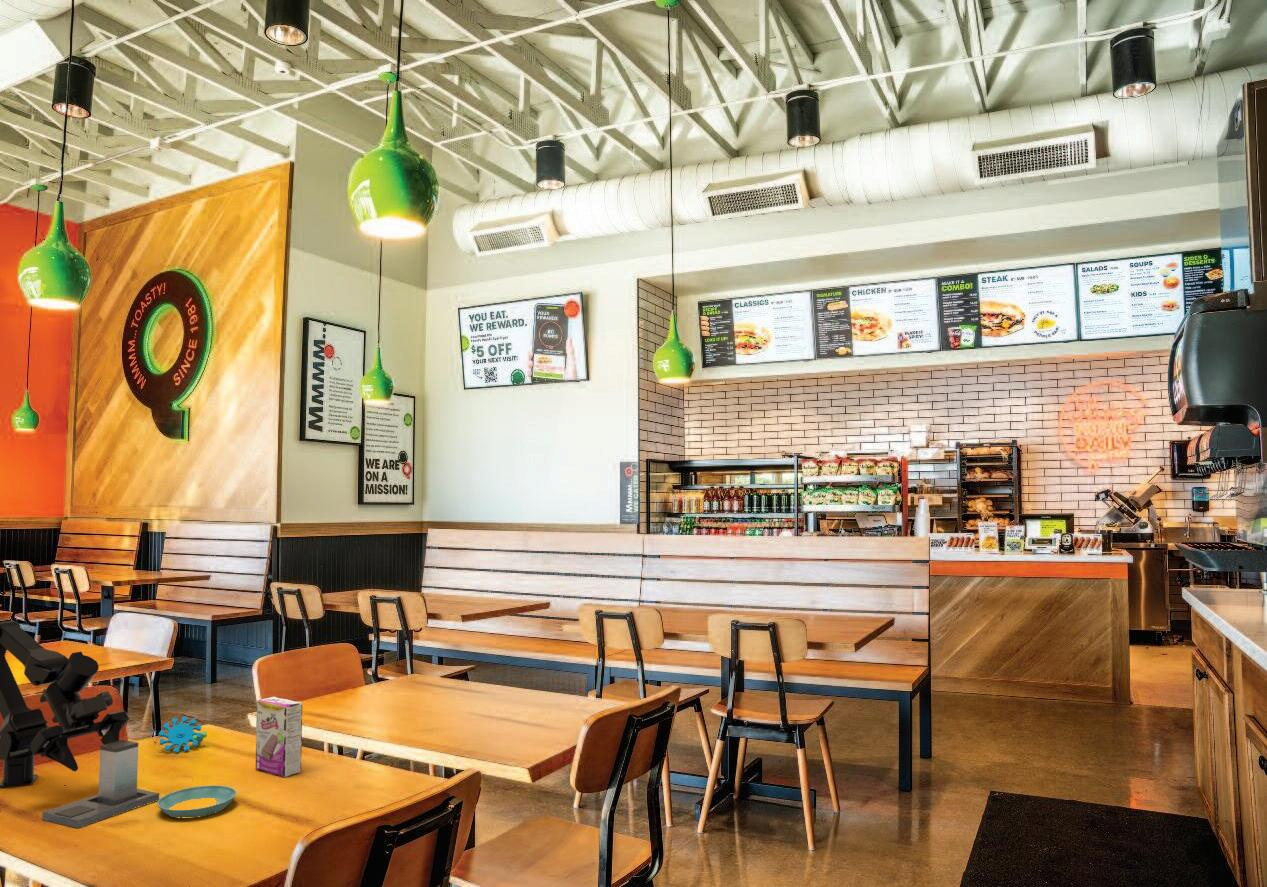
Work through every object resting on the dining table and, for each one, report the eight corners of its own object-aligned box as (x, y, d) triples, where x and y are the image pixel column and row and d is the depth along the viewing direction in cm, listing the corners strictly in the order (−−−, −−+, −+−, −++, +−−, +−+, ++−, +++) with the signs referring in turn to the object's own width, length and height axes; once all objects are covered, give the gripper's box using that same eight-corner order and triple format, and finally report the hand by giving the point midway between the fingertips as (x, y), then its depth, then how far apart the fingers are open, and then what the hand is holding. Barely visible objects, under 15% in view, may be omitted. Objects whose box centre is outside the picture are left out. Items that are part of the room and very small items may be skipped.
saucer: (139, 817, 179) (140, 804, 179) (198, 794, 193) (199, 782, 193) (195, 827, 174) (196, 813, 174) (252, 802, 188) (252, 789, 188)
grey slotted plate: (42, 819, 177) (42, 811, 177) (124, 793, 193) (124, 785, 193) (77, 828, 172) (78, 820, 172) (159, 800, 188) (159, 792, 188)
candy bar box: (253, 770, 209) (255, 699, 210) (272, 765, 213) (274, 695, 214) (283, 778, 203) (285, 705, 204) (302, 772, 207) (303, 701, 208)
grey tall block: (97, 806, 184) (100, 745, 185) (120, 799, 189) (123, 739, 189) (113, 810, 182) (115, 748, 183) (136, 803, 186) (138, 742, 187)
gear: (153, 749, 220) (164, 713, 227) (153, 761, 223) (164, 726, 231) (202, 751, 223) (210, 716, 231) (201, 764, 227) (210, 729, 234)
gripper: (41, 690, 183) (72, 752, 178) (126, 673, 200) (157, 730, 195) (15, 723, 186) (46, 785, 181) (101, 704, 203) (131, 761, 198)
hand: (97, 764), depth 189 cm, fingers open, 9 cm apart
